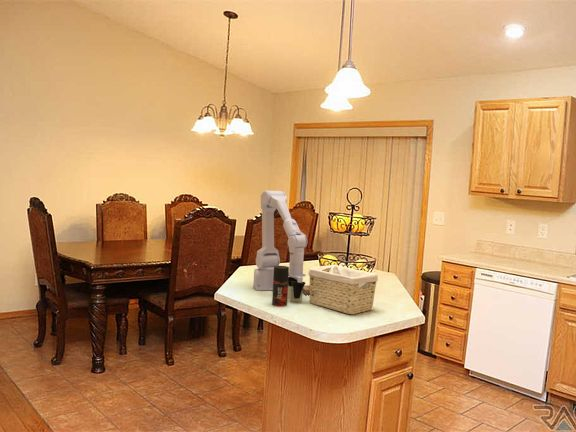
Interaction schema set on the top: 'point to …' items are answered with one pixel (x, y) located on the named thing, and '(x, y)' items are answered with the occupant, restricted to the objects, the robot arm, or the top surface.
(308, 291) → the walnut slab
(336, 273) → the storage basket
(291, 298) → the beige cube
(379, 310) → the top surface
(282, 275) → the deodorant
